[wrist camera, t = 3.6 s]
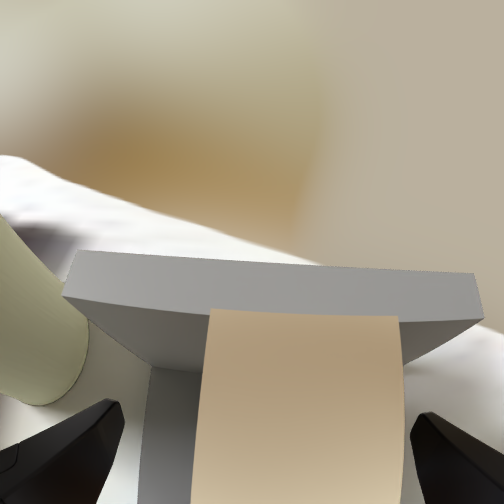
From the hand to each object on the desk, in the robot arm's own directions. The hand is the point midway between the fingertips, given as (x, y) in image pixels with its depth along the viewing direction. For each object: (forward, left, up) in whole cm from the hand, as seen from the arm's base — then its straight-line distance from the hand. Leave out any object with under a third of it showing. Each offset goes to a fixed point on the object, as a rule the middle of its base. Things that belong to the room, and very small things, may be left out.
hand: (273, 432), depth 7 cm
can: (-7, +14, -8) cm, 18 cm away
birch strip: (0, 0, -7) cm, 7 cm away
